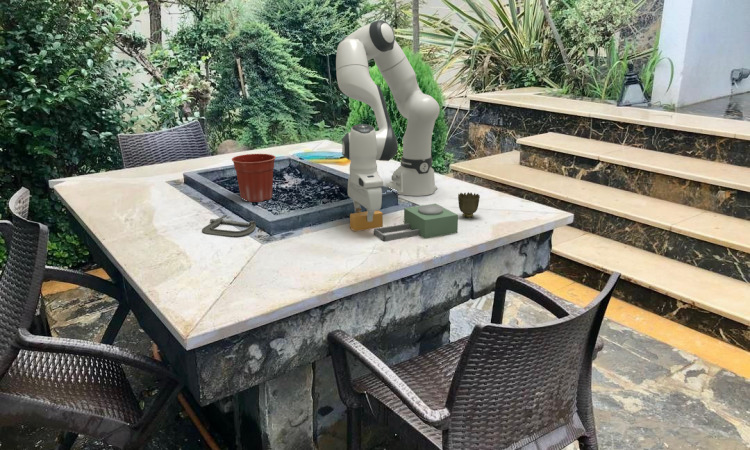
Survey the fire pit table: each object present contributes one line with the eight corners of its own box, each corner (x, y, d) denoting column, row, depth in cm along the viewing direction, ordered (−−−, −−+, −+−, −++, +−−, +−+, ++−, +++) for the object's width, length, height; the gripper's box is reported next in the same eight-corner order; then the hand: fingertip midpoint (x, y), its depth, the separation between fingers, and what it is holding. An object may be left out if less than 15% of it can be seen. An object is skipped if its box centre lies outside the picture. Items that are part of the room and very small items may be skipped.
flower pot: (262, 190, 236) (259, 151, 231) (286, 197, 225) (284, 157, 220) (227, 198, 225) (223, 157, 220) (250, 206, 214) (247, 164, 209)
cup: (478, 221, 196) (479, 198, 193) (456, 219, 197) (457, 197, 194) (479, 214, 203) (480, 192, 200) (457, 213, 204) (458, 191, 201)
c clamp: (189, 233, 189) (188, 225, 188) (224, 217, 204) (223, 210, 203) (239, 241, 181) (238, 233, 180) (271, 225, 195) (270, 217, 195)
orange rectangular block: (350, 228, 191) (349, 213, 189) (377, 223, 195) (377, 209, 193) (354, 231, 187) (354, 217, 186) (382, 227, 191) (382, 212, 189)
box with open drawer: (369, 231, 187) (369, 210, 185) (435, 220, 197) (435, 200, 195) (388, 244, 175) (388, 222, 173) (457, 232, 185) (458, 211, 182)
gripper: (342, 170, 193) (343, 209, 197) (366, 184, 175) (366, 227, 180) (359, 168, 195) (360, 207, 200) (385, 182, 178) (385, 224, 182)
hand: (363, 216), depth 190 cm, fingers open, 8 cm apart
